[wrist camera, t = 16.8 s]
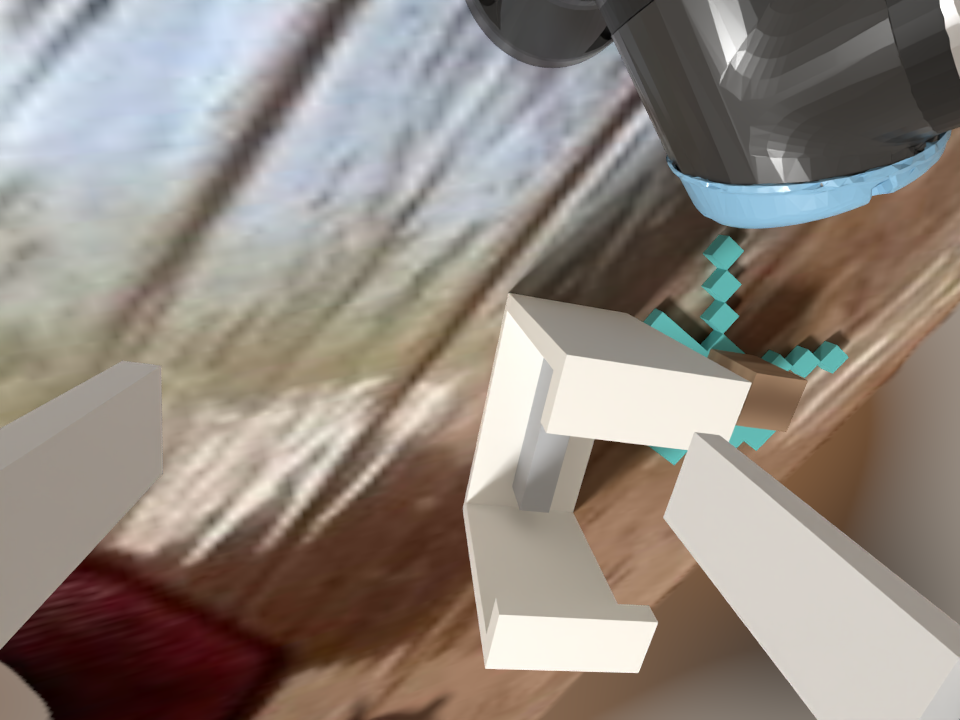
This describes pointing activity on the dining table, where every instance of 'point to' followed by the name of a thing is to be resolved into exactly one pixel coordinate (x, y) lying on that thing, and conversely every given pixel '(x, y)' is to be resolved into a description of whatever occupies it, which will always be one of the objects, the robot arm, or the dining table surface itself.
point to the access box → (572, 475)
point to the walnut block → (763, 390)
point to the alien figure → (720, 320)
